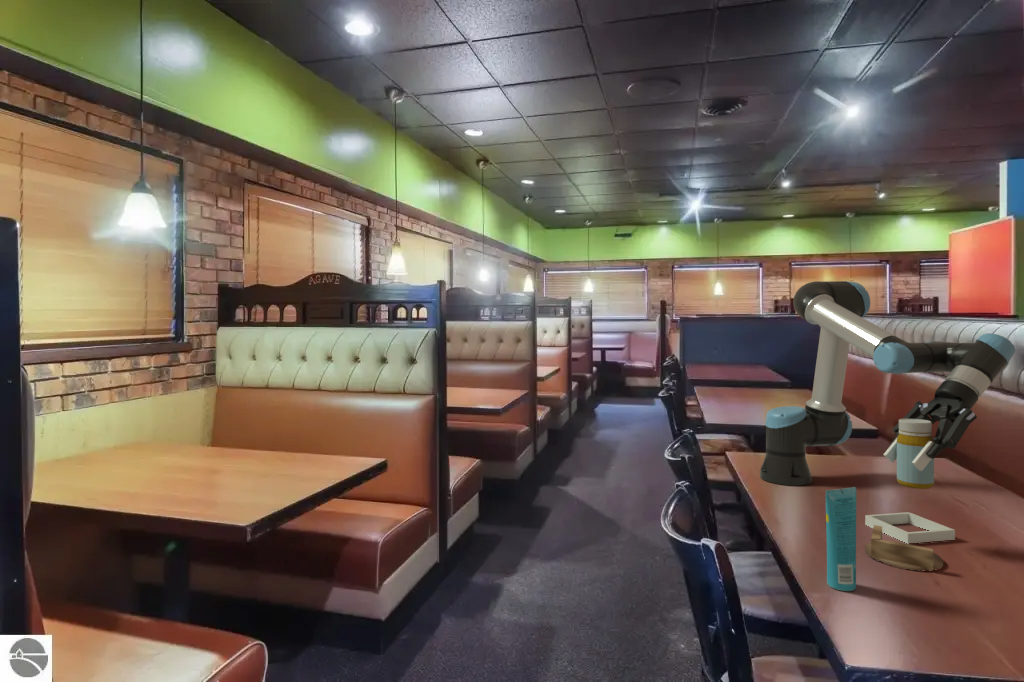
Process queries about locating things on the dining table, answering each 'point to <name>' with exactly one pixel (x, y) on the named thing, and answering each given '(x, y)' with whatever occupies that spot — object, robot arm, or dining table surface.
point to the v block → (902, 553)
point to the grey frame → (935, 529)
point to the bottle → (913, 453)
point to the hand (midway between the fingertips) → (902, 462)
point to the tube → (841, 538)
